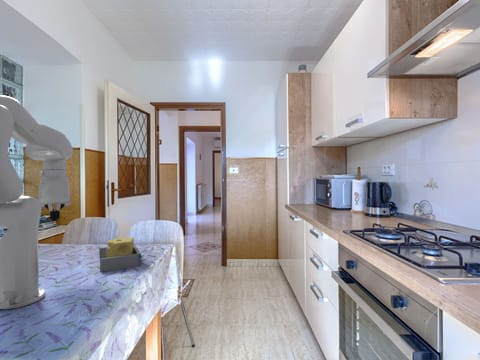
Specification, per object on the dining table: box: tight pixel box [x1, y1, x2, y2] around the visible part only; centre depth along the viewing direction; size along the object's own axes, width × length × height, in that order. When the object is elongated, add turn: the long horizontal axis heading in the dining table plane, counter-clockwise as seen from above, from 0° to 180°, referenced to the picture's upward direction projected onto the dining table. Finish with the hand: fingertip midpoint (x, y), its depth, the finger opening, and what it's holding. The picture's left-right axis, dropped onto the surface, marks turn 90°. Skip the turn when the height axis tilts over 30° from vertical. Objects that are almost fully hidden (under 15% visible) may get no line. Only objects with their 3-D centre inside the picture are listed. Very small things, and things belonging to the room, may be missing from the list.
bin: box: [98, 243, 142, 273], centre depth 119 cm, size 20×15×5 cm
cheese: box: [106, 237, 135, 258], centre depth 119 cm, size 10×11×10 cm
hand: (55, 220), depth 108 cm, fingers closed
